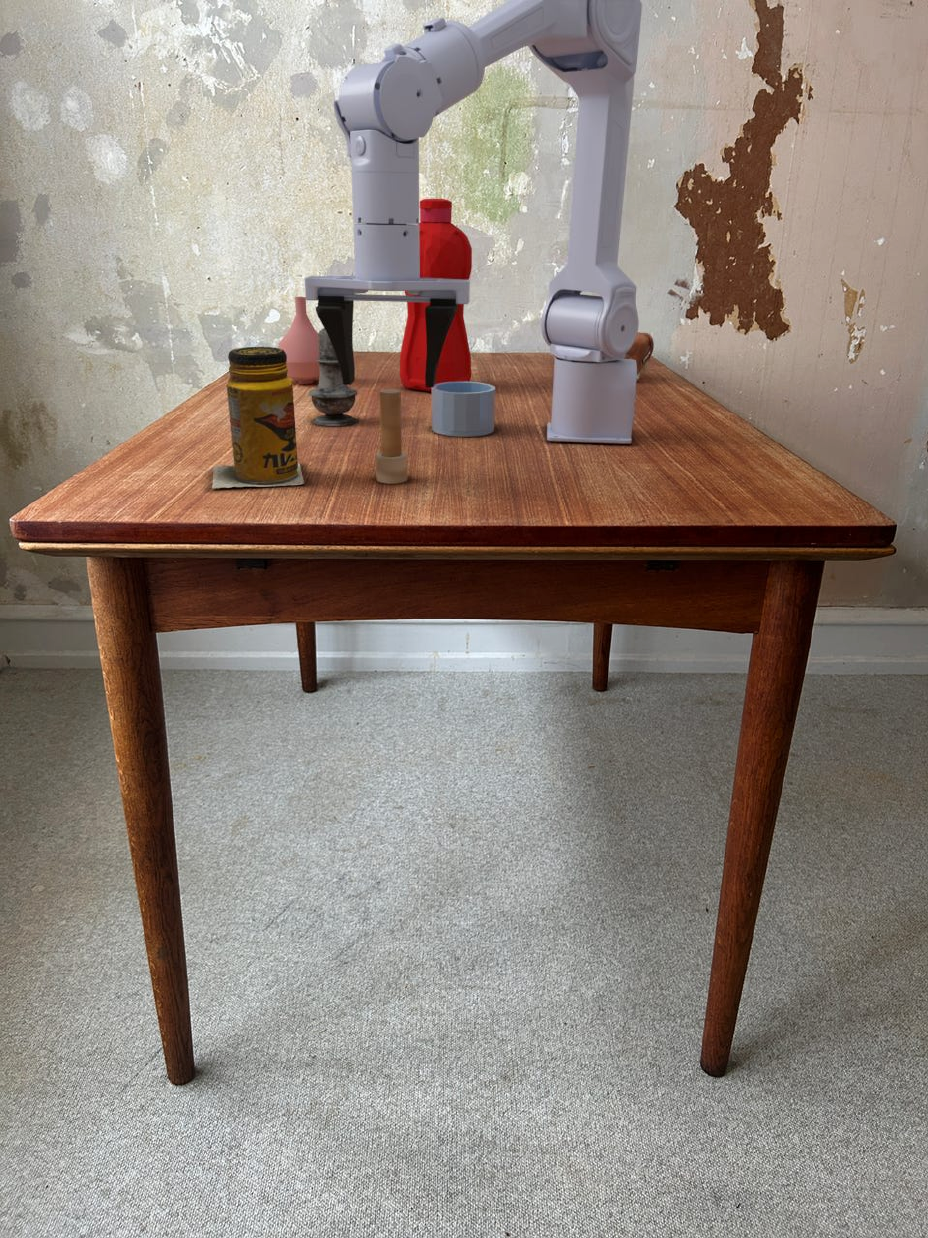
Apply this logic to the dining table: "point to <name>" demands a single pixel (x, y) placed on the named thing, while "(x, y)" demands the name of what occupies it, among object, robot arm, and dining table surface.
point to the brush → (391, 440)
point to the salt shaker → (331, 388)
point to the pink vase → (301, 346)
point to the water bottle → (439, 258)
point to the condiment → (260, 421)
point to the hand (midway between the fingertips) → (389, 384)
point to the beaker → (463, 409)
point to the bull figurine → (641, 351)
